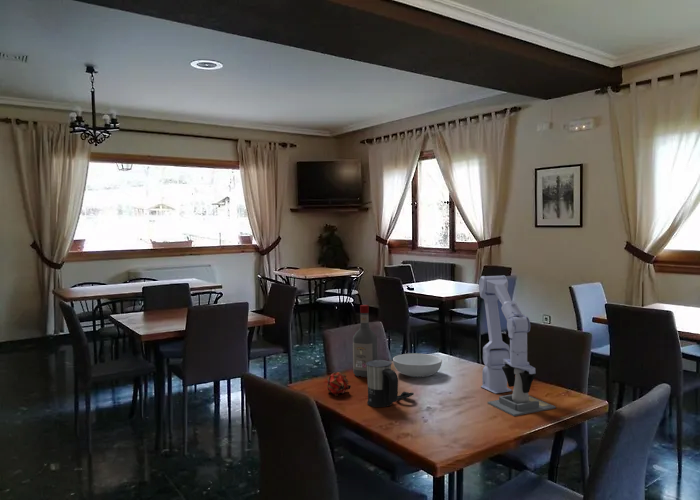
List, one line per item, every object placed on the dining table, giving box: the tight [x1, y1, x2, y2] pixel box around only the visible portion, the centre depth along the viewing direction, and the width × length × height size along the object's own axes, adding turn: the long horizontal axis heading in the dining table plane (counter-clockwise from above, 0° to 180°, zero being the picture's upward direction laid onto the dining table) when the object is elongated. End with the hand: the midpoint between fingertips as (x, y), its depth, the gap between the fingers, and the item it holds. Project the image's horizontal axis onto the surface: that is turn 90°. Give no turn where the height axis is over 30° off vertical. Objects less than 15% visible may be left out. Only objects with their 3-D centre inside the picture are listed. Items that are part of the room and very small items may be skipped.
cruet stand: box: [487, 393, 557, 417], centre depth 184 cm, size 14×18×3 cm
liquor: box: [352, 304, 378, 378], centre depth 226 cm, size 9×9×30 cm
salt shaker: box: [512, 368, 530, 404], centre depth 184 cm, size 6×6×13 cm
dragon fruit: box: [326, 371, 352, 396], centre depth 202 cm, size 8×8×12 cm
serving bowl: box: [392, 352, 443, 378], centre depth 225 cm, size 21×21×7 cm
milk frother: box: [366, 359, 415, 408], centre depth 190 cm, size 14×16×15 cm
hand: (518, 389), depth 184 cm, fingers open, 7 cm apart
